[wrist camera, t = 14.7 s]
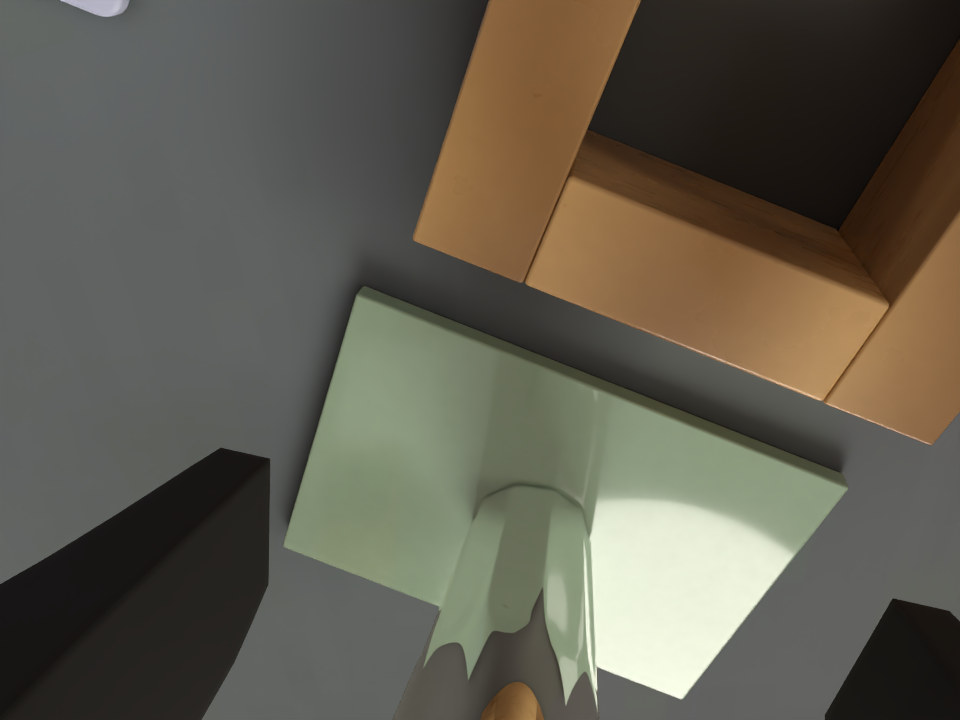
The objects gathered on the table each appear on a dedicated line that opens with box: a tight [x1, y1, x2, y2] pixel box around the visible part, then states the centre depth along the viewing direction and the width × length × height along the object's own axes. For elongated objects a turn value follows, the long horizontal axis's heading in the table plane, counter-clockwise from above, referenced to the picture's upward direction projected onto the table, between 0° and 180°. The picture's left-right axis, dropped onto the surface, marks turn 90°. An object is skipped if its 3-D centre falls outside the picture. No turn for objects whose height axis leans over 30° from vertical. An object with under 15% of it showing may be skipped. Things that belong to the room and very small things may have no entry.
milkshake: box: [392, 484, 600, 720], centre depth 17 cm, size 4×5×10 cm
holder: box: [413, 0, 960, 445], centre depth 13 cm, size 10×10×4 cm
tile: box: [283, 286, 848, 700], centre depth 21 cm, size 13×9×1 cm
